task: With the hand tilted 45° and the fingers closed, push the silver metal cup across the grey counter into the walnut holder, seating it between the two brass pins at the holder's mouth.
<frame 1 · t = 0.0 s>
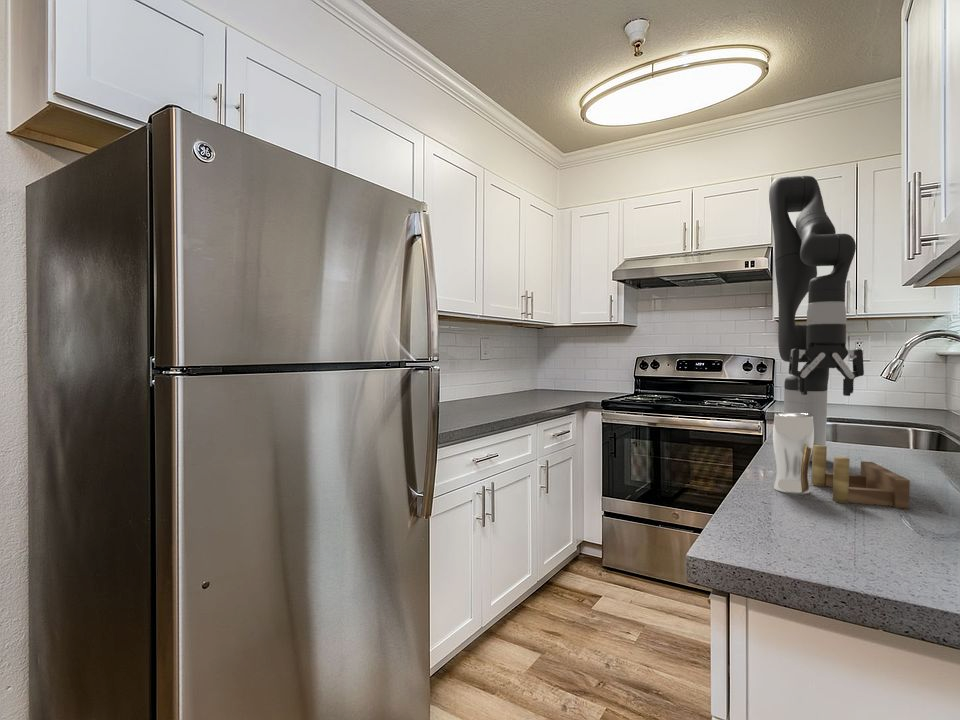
hand: (825, 395, 122), 17 cm above the counter, tool pointing down, fingers open, 8 cm apart
holder: (849, 494, 104), on the counter
silver metal cup: (791, 491, 107), on the counter
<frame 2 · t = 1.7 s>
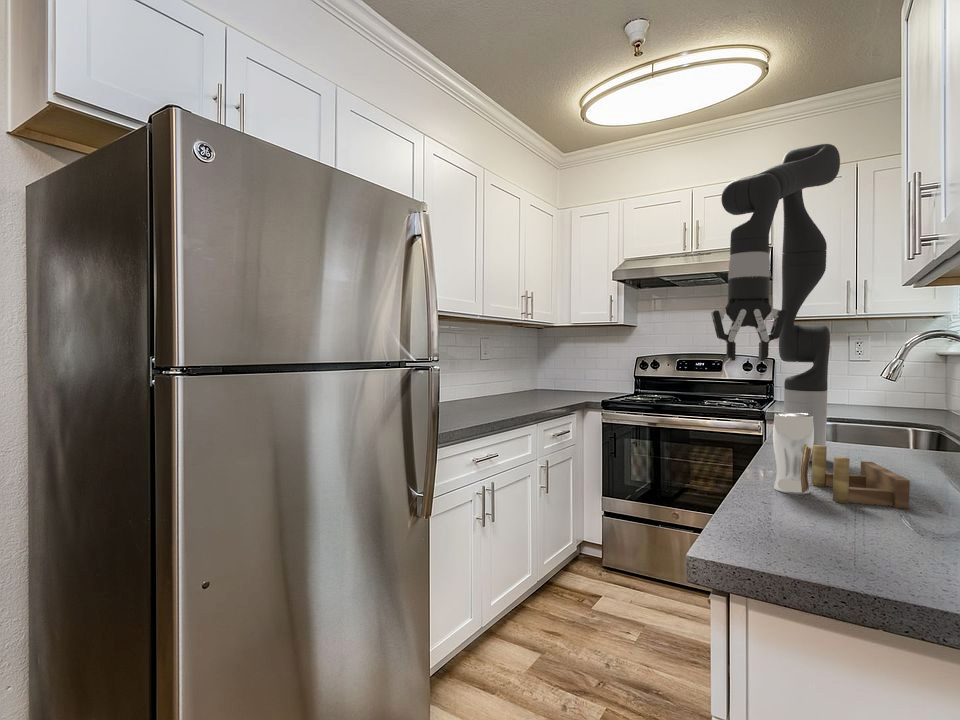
hand: (746, 360, 111), 25 cm above the counter, tool pointing down, fingers open, 5 cm apart
nothing on the counter moved.
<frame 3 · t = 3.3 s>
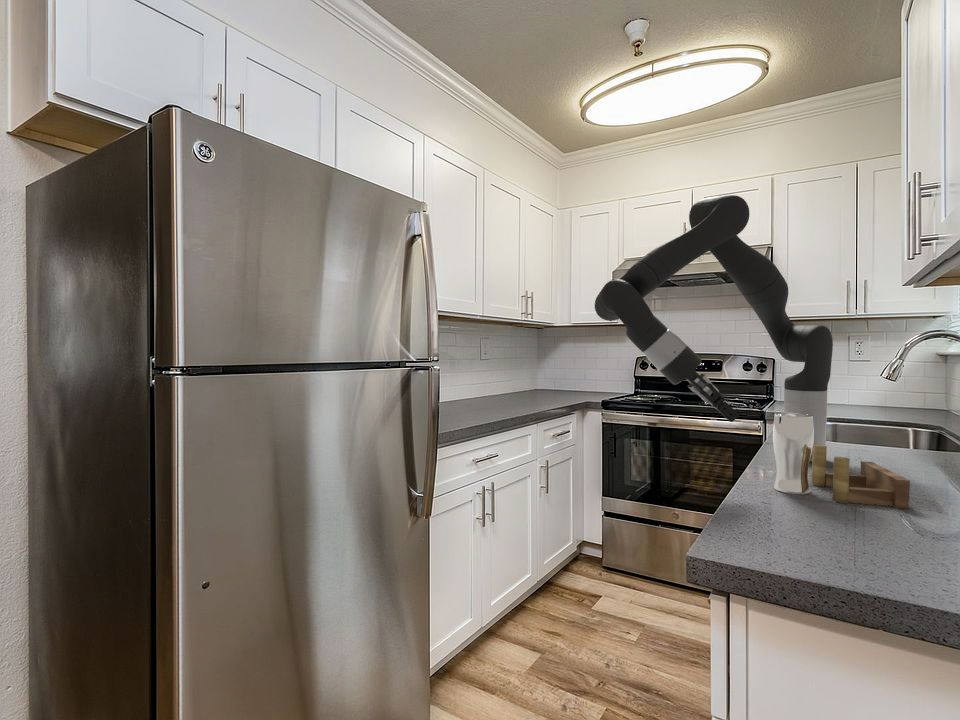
hand: (734, 418, 109), 14 cm above the counter, tool tilted 45°, fingers closed
nothing on the counter moved.
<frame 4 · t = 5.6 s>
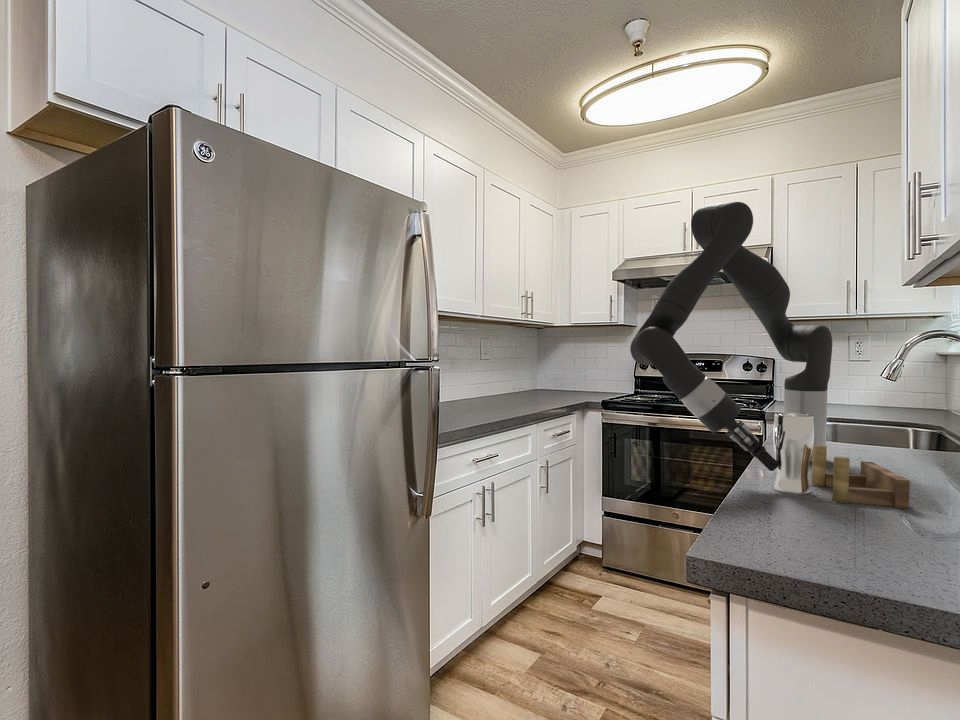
hand: (774, 467, 108), 4 cm above the counter, tool tilted 45°, fingers closed
silver metal cup: (791, 491, 107), on the counter, touching gripper
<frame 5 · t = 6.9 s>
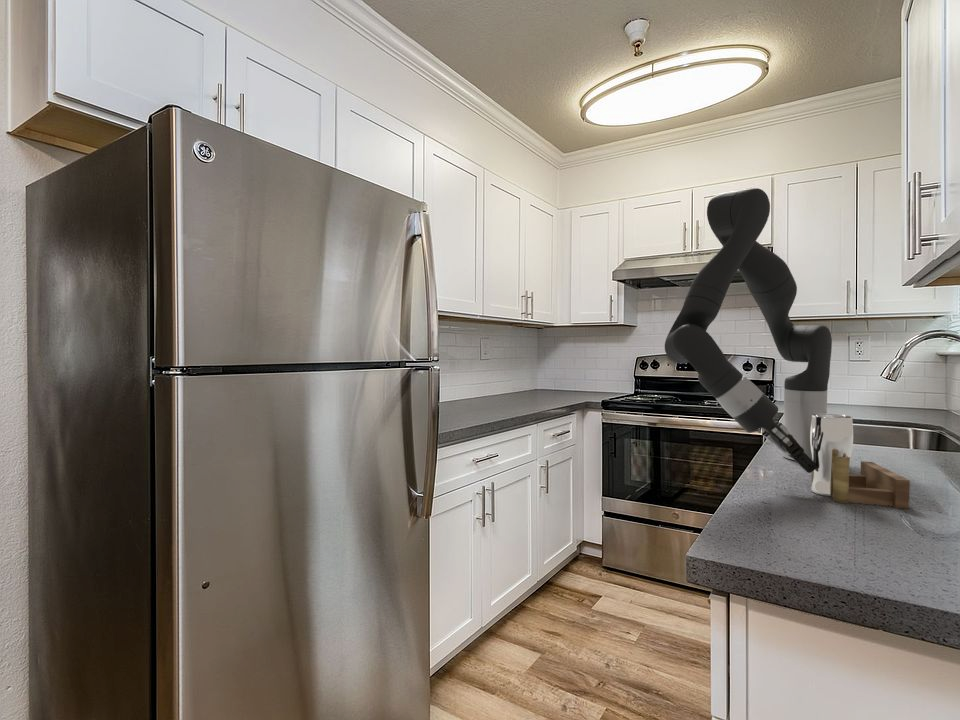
hand: (812, 469, 106), 4 cm above the counter, tool tilted 45°, fingers closed
silver metal cup: (829, 493, 105), on the counter, touching gripper
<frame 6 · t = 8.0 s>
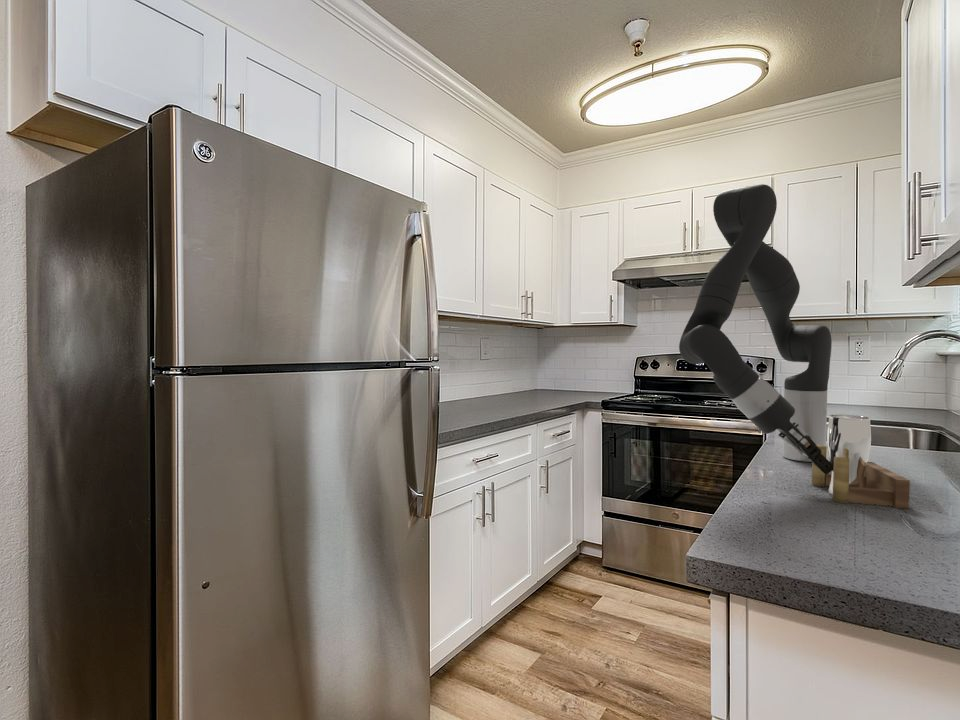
hand: (829, 470, 105), 4 cm above the counter, tool tilted 45°, fingers closed
silver metal cup: (846, 495, 104), on the counter, touching gripper
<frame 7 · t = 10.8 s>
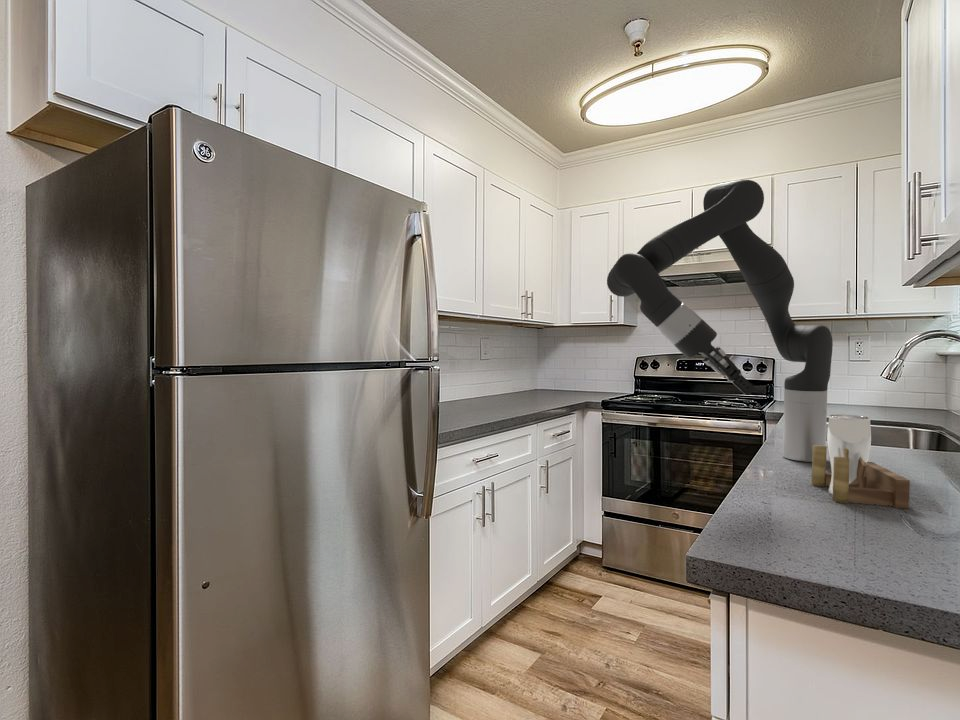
hand: (750, 392, 108), 19 cm above the counter, tool tilted 45°, fingers closed
silver metal cup: (846, 495, 104), on the counter
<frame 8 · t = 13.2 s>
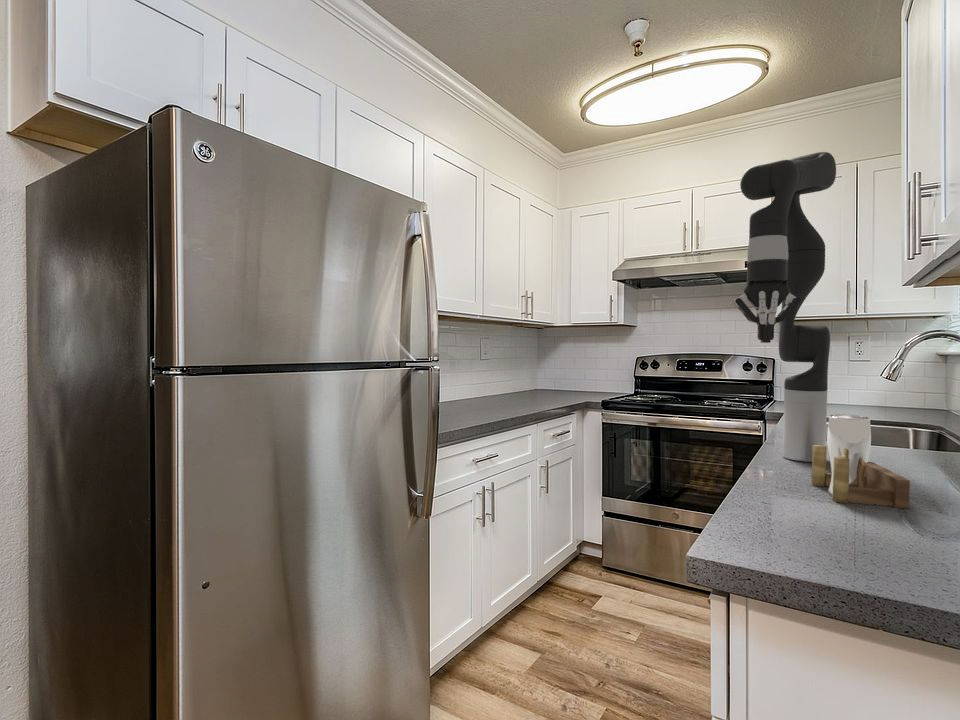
hand: (765, 342, 115), 29 cm above the counter, tool pointing down, fingers closed
nothing on the counter moved.
at the end: silver metal cup 1.3 cm from the target spot, on the counter; silver metal cup tilted 0° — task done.
